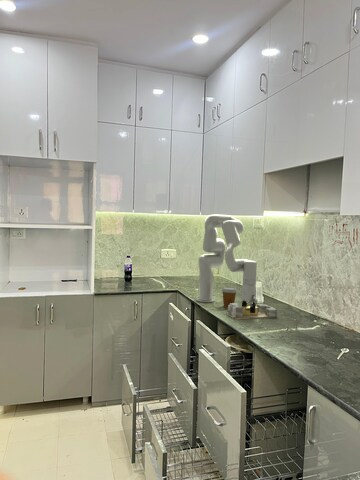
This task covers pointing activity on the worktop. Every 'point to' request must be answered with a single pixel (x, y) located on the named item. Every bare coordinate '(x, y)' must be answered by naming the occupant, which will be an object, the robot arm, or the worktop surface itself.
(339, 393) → the worktop surface
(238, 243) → the robot arm
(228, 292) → the disposable coffee cup
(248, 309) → the brass tube
